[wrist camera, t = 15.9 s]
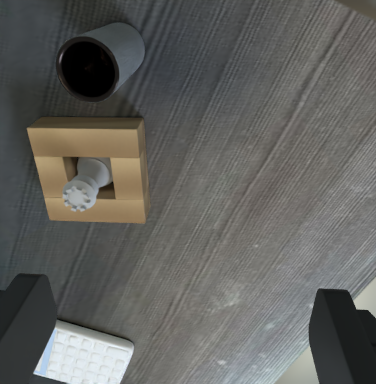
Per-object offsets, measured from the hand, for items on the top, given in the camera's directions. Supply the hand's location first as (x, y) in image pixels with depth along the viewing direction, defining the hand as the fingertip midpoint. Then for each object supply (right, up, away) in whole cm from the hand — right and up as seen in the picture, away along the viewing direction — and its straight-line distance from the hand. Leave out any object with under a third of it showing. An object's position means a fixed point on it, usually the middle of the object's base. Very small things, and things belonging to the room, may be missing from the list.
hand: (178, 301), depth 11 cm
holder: (-10, +6, +29) cm, 32 cm away
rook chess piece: (-10, +7, +29) cm, 32 cm away
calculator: (-19, -22, +47) cm, 55 cm away
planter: (-6, +17, +23) cm, 29 cm away
